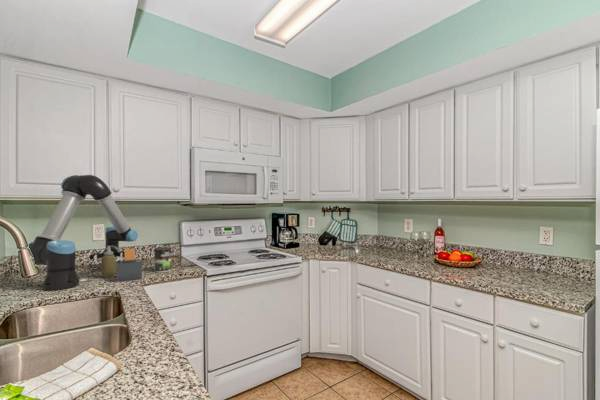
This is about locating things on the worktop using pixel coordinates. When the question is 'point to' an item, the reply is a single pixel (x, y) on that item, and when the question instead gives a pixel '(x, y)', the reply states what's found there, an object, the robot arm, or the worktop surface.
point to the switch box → (129, 270)
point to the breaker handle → (129, 255)
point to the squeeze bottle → (108, 264)
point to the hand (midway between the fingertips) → (108, 257)
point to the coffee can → (162, 259)
